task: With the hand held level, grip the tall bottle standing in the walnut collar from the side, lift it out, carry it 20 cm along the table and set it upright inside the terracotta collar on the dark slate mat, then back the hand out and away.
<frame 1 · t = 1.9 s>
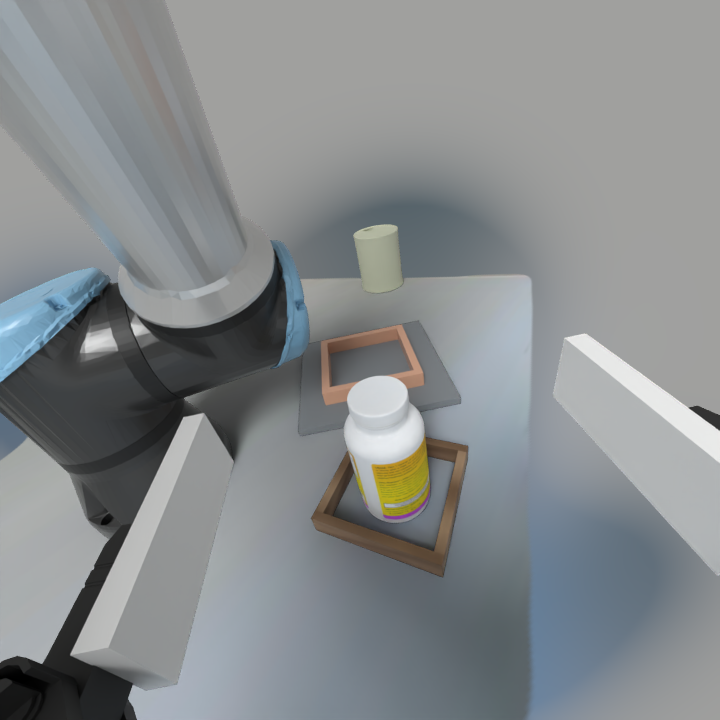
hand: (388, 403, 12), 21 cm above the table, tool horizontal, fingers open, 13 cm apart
supplement bottle: (396, 493, 33), resting in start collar
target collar: (367, 360, 48), on the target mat, point 1 cm above the table
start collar: (396, 492, 32), on the table
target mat: (369, 371, 49), on the table
can: (382, 285, 74), on the table
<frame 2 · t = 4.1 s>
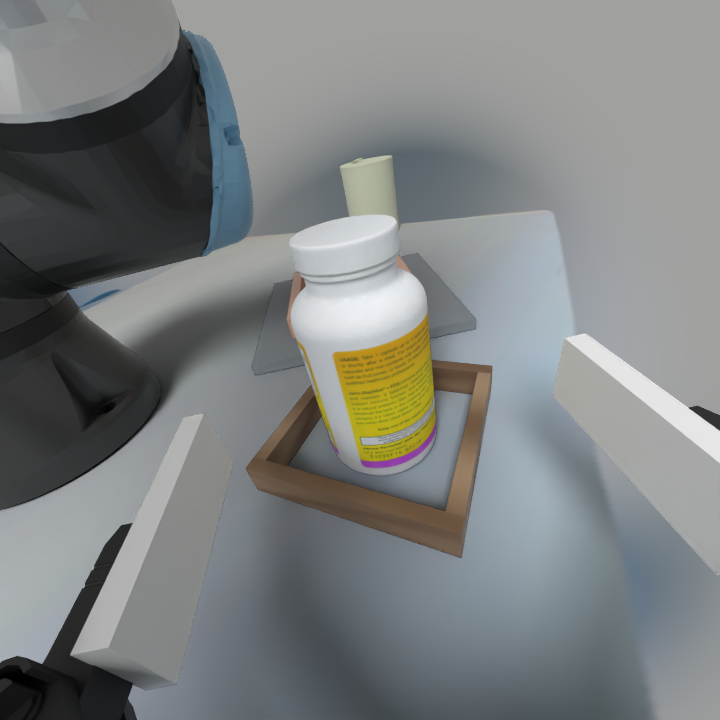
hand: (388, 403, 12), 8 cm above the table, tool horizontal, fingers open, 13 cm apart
supplement bottle: (384, 437, 21), resting in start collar
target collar: (351, 288, 37), on the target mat, point 1 cm above the table
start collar: (383, 435, 21), on the table
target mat: (354, 305, 38), on the table
can: (375, 231, 63), on the table
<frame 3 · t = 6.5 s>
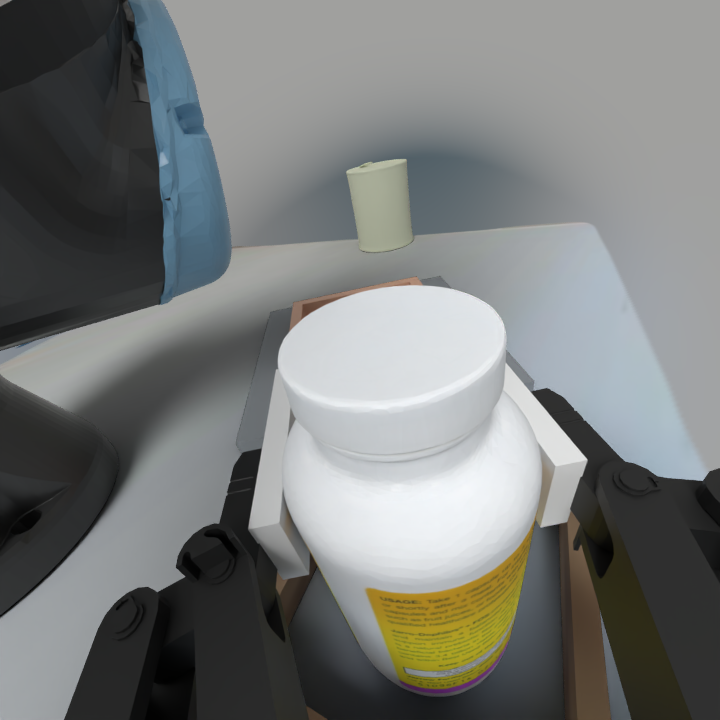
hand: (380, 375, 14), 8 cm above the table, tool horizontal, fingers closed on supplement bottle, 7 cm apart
supplement bottle: (425, 592, 14), resting in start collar, touching gripper
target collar: (363, 327, 29), on the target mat, point 1 cm above the table
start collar: (425, 590, 14), on the table
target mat: (367, 346, 31), on the table
can: (386, 244, 56), on the table
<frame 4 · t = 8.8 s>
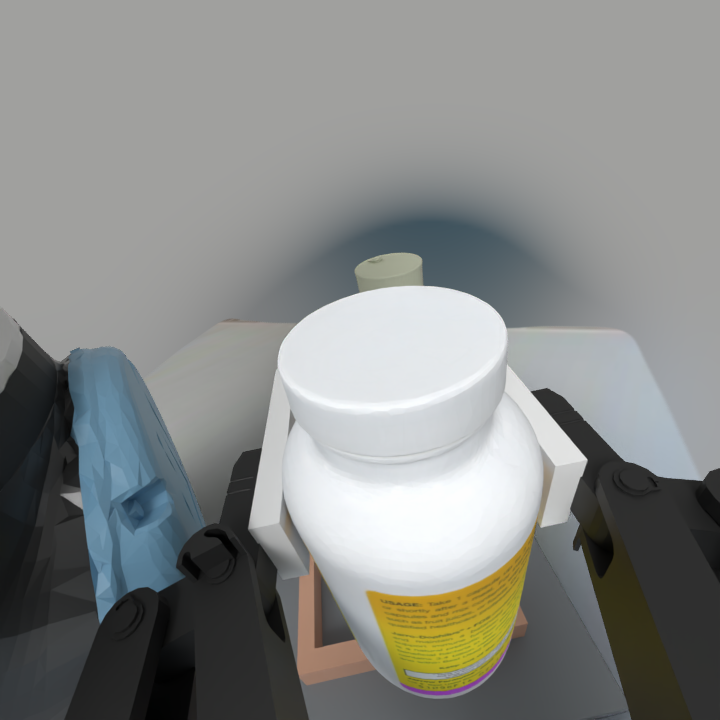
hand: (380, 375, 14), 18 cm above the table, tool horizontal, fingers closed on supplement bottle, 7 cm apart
supplement bottle: (426, 593, 14), point 10 cm above the table, touching gripper
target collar: (391, 540, 24), on the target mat, point 1 cm above the table
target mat: (394, 554, 25), on the table
can: (397, 338, 51), on the table
when the fingers open (10 cm above the table, at t = 11.4 s): supplement bottle drops 1 cm, resting on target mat.
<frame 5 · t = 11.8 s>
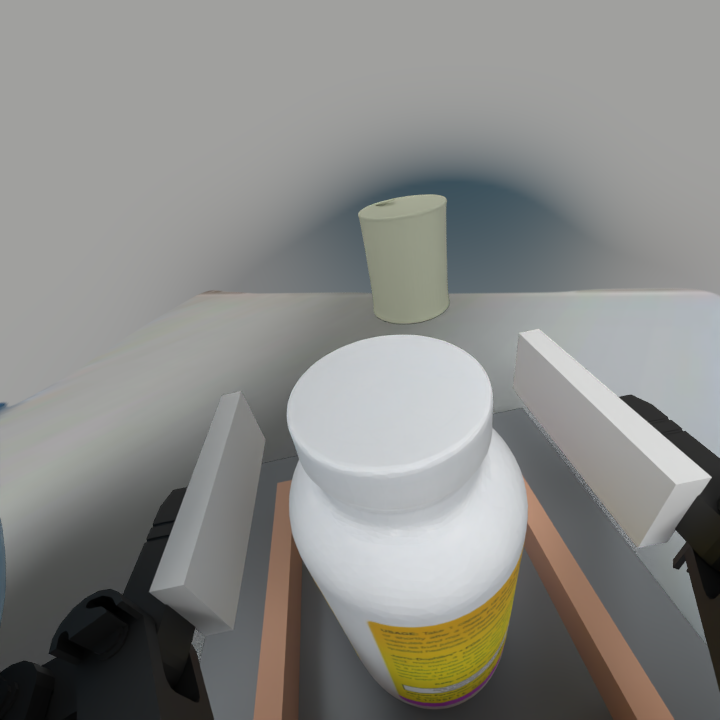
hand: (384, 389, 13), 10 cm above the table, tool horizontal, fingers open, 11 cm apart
supplement bottle: (423, 607, 15), point 1 cm above the table, touching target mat
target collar: (418, 594, 14), on the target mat, point 1 cm above the table
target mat: (421, 612, 15), on the table
can: (410, 306, 41), on the table
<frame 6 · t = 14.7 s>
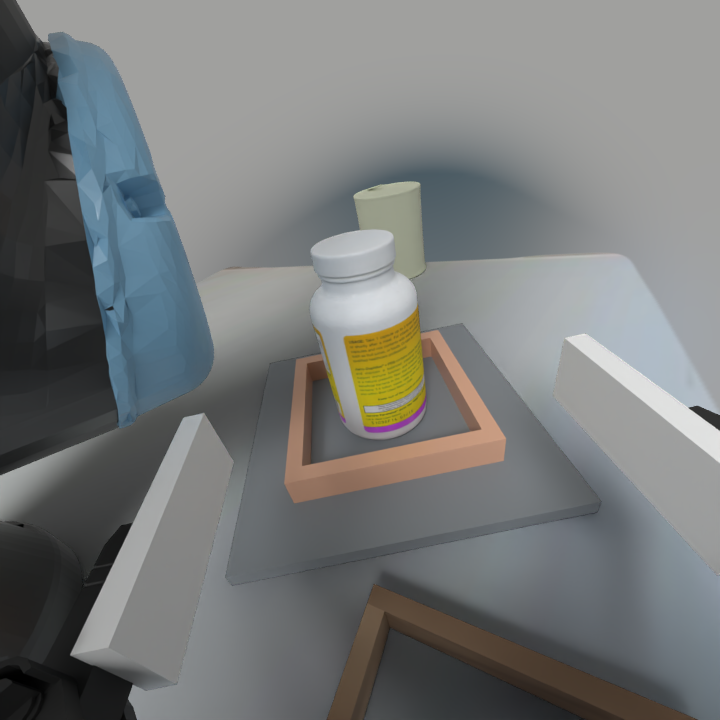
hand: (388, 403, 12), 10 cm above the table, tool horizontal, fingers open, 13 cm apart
supplement bottle: (383, 412, 26), point 1 cm above the table, touching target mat
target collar: (379, 400, 25), on the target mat, point 1 cm above the table
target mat: (383, 419, 26), on the table
can: (396, 272, 52), on the table
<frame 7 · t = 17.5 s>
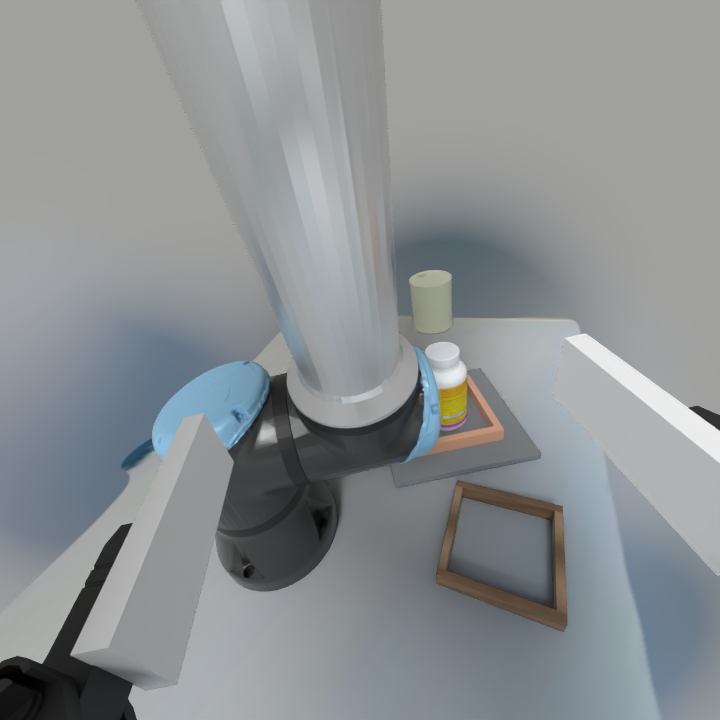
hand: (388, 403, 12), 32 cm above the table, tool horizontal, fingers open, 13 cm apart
supplement bottle: (445, 418, 53), point 1 cm above the table, touching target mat
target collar: (444, 412, 52), on the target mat, point 1 cm above the table
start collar: (501, 548, 37), on the table
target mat: (444, 421, 54), on the table
can: (432, 324, 79), on the table
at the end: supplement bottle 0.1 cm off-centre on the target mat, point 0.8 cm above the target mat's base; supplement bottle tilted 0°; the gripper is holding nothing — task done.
